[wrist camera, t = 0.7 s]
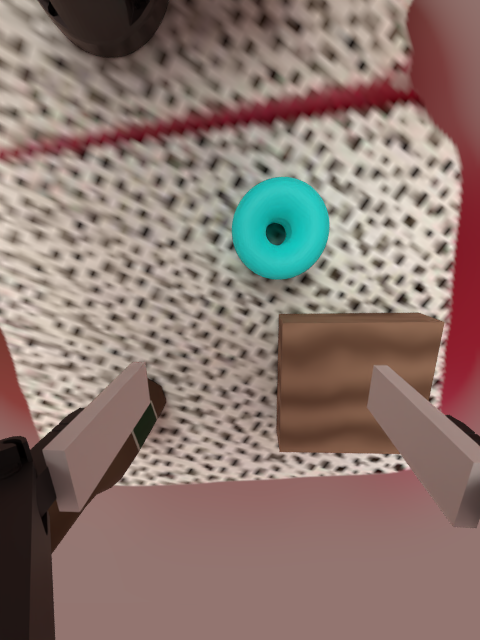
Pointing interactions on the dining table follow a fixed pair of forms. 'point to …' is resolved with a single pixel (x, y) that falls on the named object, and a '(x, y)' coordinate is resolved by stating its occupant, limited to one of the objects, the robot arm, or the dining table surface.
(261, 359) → the dining table surface
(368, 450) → the walnut stand
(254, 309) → the dining table surface
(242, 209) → the donuts
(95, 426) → the robot arm
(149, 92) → the dining table surface
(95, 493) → the beer bottle
